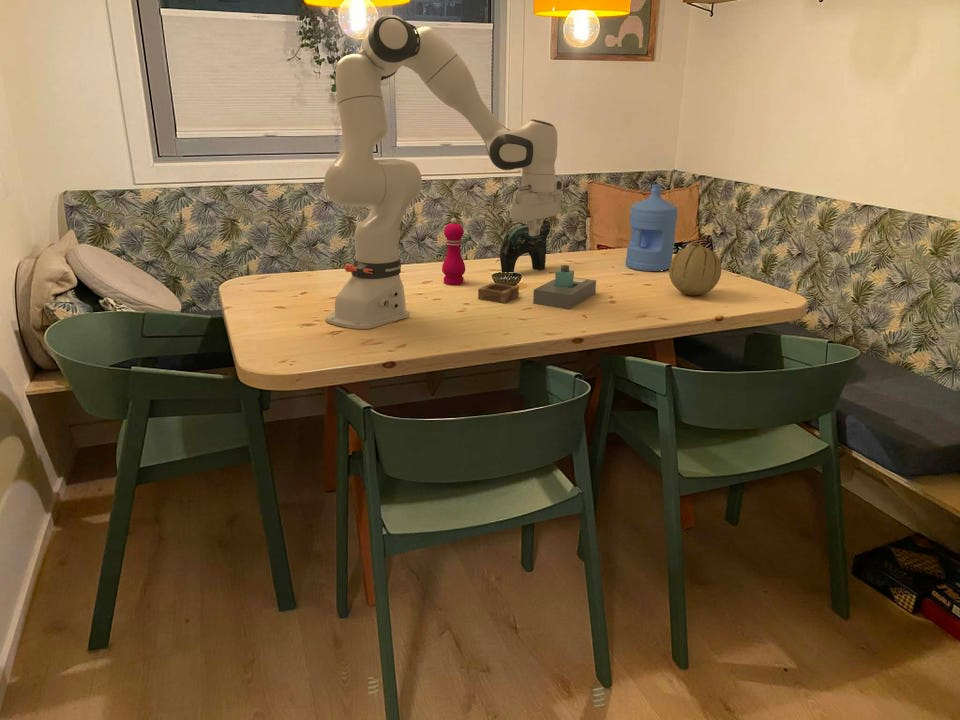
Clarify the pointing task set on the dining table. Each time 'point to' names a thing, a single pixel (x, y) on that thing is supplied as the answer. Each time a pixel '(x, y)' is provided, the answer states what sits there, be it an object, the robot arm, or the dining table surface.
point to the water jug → (652, 233)
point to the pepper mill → (453, 254)
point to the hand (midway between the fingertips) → (534, 235)
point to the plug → (564, 277)
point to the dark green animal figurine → (524, 246)
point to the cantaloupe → (695, 270)
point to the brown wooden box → (498, 292)
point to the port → (564, 293)
